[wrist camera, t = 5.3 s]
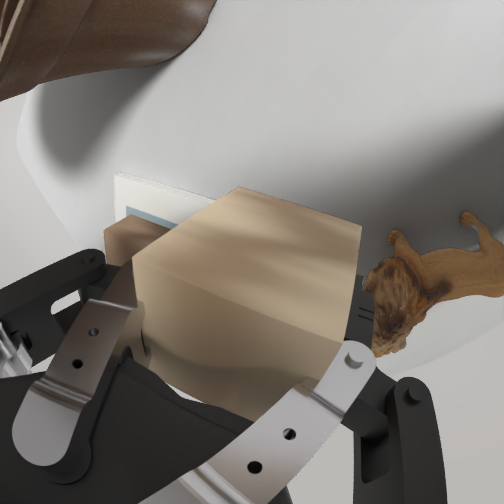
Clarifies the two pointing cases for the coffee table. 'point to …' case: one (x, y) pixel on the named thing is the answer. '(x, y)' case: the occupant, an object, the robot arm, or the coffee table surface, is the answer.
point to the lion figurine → (429, 283)
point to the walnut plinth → (130, 238)
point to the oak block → (247, 299)
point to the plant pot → (90, 37)
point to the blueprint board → (154, 201)
